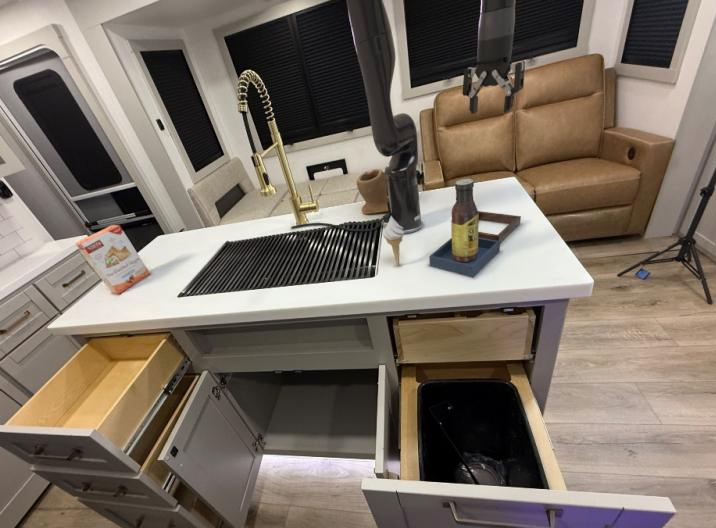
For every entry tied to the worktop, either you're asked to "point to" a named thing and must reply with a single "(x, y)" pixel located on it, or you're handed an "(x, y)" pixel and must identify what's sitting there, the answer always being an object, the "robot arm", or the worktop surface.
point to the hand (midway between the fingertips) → (489, 112)
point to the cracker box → (113, 258)
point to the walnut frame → (500, 218)
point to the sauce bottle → (464, 223)
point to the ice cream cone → (394, 237)
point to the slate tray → (446, 262)
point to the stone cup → (373, 191)
